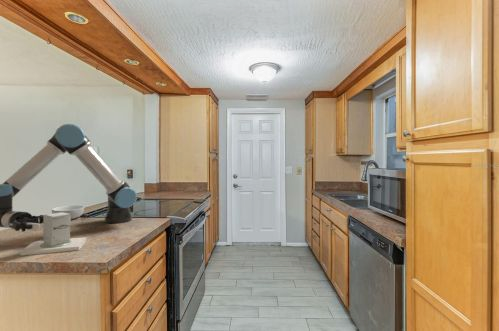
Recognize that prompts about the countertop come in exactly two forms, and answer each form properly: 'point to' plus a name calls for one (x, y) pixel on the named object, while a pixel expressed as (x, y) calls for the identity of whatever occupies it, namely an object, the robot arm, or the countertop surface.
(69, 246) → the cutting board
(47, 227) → the supplement box
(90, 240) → the countertop surface
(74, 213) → the cereal bowl
